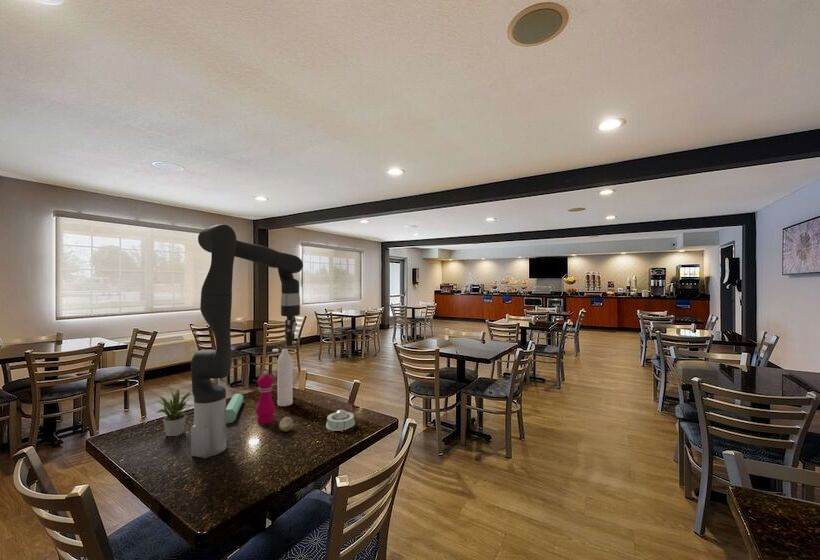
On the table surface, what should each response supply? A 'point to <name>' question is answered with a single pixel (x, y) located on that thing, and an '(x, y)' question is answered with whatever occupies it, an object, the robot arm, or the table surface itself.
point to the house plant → (174, 414)
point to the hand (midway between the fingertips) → (290, 343)
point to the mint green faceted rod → (233, 407)
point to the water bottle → (284, 378)
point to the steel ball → (340, 415)
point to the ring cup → (340, 422)
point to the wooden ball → (286, 424)
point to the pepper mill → (265, 399)
